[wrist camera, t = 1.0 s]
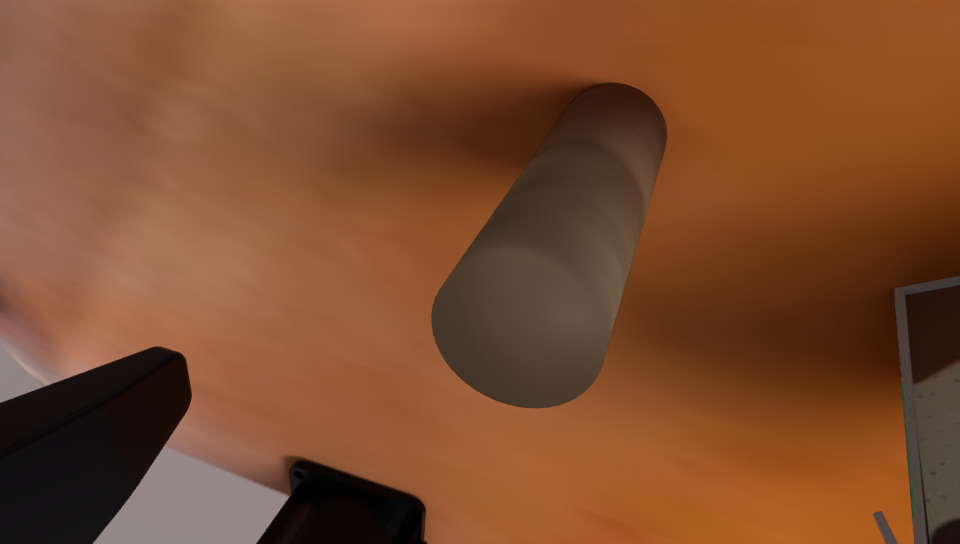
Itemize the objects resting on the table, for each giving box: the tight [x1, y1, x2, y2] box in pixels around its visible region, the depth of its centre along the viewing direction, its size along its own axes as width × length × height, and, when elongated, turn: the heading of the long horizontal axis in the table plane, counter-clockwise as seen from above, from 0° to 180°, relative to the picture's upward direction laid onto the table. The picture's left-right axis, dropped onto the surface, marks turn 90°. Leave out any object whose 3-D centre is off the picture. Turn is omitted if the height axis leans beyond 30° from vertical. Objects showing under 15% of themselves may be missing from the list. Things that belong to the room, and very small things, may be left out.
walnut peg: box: [432, 83, 667, 408], centre depth 16 cm, size 3×3×10 cm
